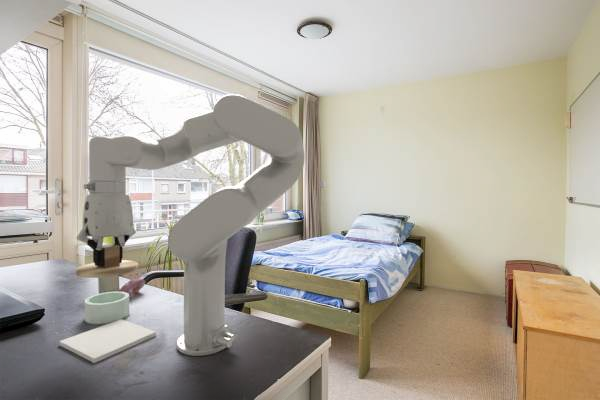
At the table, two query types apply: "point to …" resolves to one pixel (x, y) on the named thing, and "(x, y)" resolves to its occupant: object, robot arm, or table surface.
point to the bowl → (106, 307)
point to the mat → (107, 340)
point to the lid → (108, 265)
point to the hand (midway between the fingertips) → (108, 263)
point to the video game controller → (132, 286)
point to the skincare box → (108, 284)
